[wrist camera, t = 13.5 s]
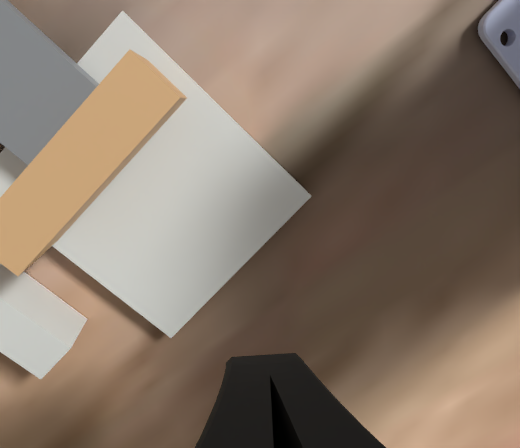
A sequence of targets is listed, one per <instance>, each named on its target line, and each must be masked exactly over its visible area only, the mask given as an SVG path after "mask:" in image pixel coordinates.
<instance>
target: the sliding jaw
mask: <svg viewBox="0 0 520 448" xmlns="http://www.w3.org/2000/svg"><path fill="white" fill-rule="evenodd" d="M186 99H187V97H186V96H185V95H184V94H183V93H182V92H181V91H180V90H179V89H178V88H176V87H175V86H174V85H173V84H172V83H171V82H170V81H169V80H168V79H167V78H166V77H165V76H164V75H163V74H162V73H161V72H160V71H159V70H158V69H157V68H156V67H155V66H154V65H153V64H152V63H151V62H149V61H148V60H147V59H145V58H144V57H142V56H140V55H139V54H137V53H135V52H134V51H132V50H130V49H129V51H128V52H127V53H126V54H125V55H124V56H123V57H122V59H121V60H120V61H119V62H118V63H117V64H116V65H115V67H114V68H113V69H112V70H111V71H110V72H109V73H108V75H107V76H106V77H105V78H104V79H103V80H102V81H101V83H100V84H99V83H97V82H96V81H95V80H94V79H93V78H92V77H91V76H90V75H89V74H88V73H87V72H85V71H84V70H83V69H82V68H81V67H80V66H79V65H78V64H77V63H76V62H74V61H73V60H72V59H71V58H70V57H69V56H68V55H67V54H66V53H65V52H64V51H62V50H61V49H60V48H59V47H58V46H57V45H56V44H55V43H54V42H53V41H51V40H50V39H49V38H48V37H47V36H46V35H45V34H44V33H43V32H42V31H41V30H39V29H38V28H37V27H36V26H35V25H34V24H33V23H32V22H31V21H30V20H28V19H27V18H26V17H25V16H24V15H23V14H22V13H21V12H20V11H19V10H18V9H16V8H15V7H14V6H13V5H12V4H11V3H10V2H9V1H8V0H0V143H1V144H2V145H3V146H5V147H6V148H7V149H8V150H10V151H11V152H12V153H13V154H14V155H16V156H17V157H18V158H19V159H21V160H22V161H23V162H24V163H25V164H27V165H28V166H27V167H26V169H25V170H24V171H23V172H22V173H21V174H20V175H19V177H18V178H17V179H16V180H15V181H14V182H13V184H12V185H11V186H10V187H9V188H8V189H7V190H6V192H5V193H4V194H3V195H2V196H1V197H0V264H2V265H3V266H5V267H6V268H7V269H9V270H10V271H11V272H13V273H14V274H15V275H17V276H19V275H20V274H21V273H23V272H24V271H25V270H26V269H27V268H28V267H29V266H30V265H31V264H33V263H34V262H35V261H36V260H37V259H38V258H39V257H40V256H41V255H42V254H44V253H45V252H46V251H47V250H48V249H49V248H50V247H51V246H52V245H53V244H55V243H56V242H57V241H58V240H59V239H60V238H61V236H62V235H63V234H64V233H65V232H66V231H67V230H68V229H69V228H70V227H71V225H72V224H73V223H74V222H75V221H76V220H77V219H78V218H79V217H80V216H81V214H82V213H83V212H84V211H85V210H86V209H87V208H88V207H89V206H90V205H91V203H92V202H93V201H94V200H95V199H96V198H97V197H98V196H99V195H100V194H101V192H102V191H103V190H104V189H105V188H106V187H107V186H108V185H109V184H110V183H111V181H112V180H113V179H114V178H115V177H116V176H117V175H118V174H119V173H120V172H121V170H122V169H123V168H124V167H125V166H126V165H127V164H128V163H129V162H130V161H131V159H132V158H133V157H134V156H135V155H136V154H137V153H138V152H139V151H140V150H141V148H142V147H143V146H144V145H145V144H146V143H147V142H148V141H149V140H150V139H151V137H152V136H153V135H154V134H155V133H156V132H157V131H158V130H159V129H160V128H161V126H162V125H163V124H164V123H165V122H166V121H167V120H168V119H169V118H170V117H171V115H172V114H173V113H174V112H175V111H176V110H177V109H178V108H179V107H180V106H181V104H182V103H183V102H184V101H185V100H186Z"/></svg>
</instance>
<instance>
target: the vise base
mask: <svg viewBox="0 0 520 448" xmlns="http://www.w3.org/2000/svg"><path fill="white" fill-rule="evenodd" d="M129 49H130V50H132V51H134V52H135V53H137V54H139V55H140V56H142V57H144V58H145V59H147V60H148V61H149V62H151V63H152V64H153V65H154V66H155V67H156V68H157V69H158V70H159V71H160V72H161V73H162V74H163V75H164V76H165V77H166V78H167V79H168V80H169V81H170V82H171V83H172V84H173V85H174V86H175V87H176V88H178V89H179V90H180V91H181V92H182V93H183V94H184V95H185V96H186V97H187V99H186V100H185V101H184V102H183V103H182V104H181V106H180V107H179V108H178V109H177V110H176V111H175V112H174V113H173V114H172V115H171V117H170V118H169V119H168V120H167V121H166V122H165V123H164V124H163V125H162V126H161V128H160V129H159V130H158V131H157V132H156V133H155V134H154V135H153V136H152V137H151V139H150V140H149V141H148V142H147V143H146V144H145V145H144V146H143V147H142V148H141V150H140V151H139V152H138V153H137V154H136V155H135V156H134V157H133V158H132V159H131V161H130V162H129V163H128V164H127V165H126V166H125V167H124V168H123V169H122V170H121V172H120V173H119V174H118V175H117V176H116V177H115V178H114V179H113V180H112V181H111V183H110V184H109V185H108V186H107V187H106V188H105V189H104V190H103V191H102V192H101V194H100V195H99V196H98V197H97V198H96V199H95V200H94V201H93V202H92V203H91V205H90V206H89V207H88V208H87V209H86V210H85V211H84V212H83V213H82V214H81V216H80V217H79V218H78V219H77V220H76V221H75V222H74V223H73V224H72V225H71V227H70V228H69V229H68V230H67V231H66V232H65V233H64V234H63V235H62V236H61V238H60V239H59V240H58V241H57V242H56V243H55V244H53V245H52V246H53V247H54V248H55V249H57V250H58V251H59V252H60V253H62V254H63V255H64V256H66V257H67V258H68V259H69V260H71V261H72V262H73V263H75V264H76V265H77V266H78V267H80V268H81V269H82V270H84V271H85V272H86V273H87V274H89V275H90V276H91V277H93V278H94V279H95V280H97V281H98V282H99V283H100V284H102V285H103V286H104V287H106V288H107V289H108V290H109V291H111V292H112V293H113V294H115V295H116V296H117V297H118V298H120V299H121V300H122V301H124V302H125V303H126V304H127V305H129V306H130V307H131V308H133V309H134V310H135V311H137V312H138V313H139V314H140V315H142V316H143V317H144V318H146V319H147V320H148V321H149V322H151V323H152V324H153V325H155V326H156V327H157V328H158V329H160V330H161V331H162V332H164V333H165V334H166V335H167V336H169V337H170V338H172V337H173V336H174V335H175V334H176V333H177V332H178V331H179V330H180V329H181V328H182V327H183V326H184V325H185V324H186V323H187V322H188V321H189V320H190V319H191V318H192V317H193V316H194V315H195V314H196V313H197V312H198V311H199V309H200V308H201V307H202V306H203V305H204V304H205V303H206V302H207V301H208V300H209V299H210V298H211V297H212V296H213V295H214V294H215V293H216V292H217V291H218V290H219V289H220V288H221V287H222V286H223V285H224V284H225V283H226V282H227V281H228V280H229V279H230V278H231V277H232V276H233V275H234V274H235V273H236V272H237V271H238V270H239V269H240V268H241V267H242V266H243V265H244V264H245V263H246V262H247V261H248V260H249V259H250V258H251V257H252V256H253V255H254V254H255V253H256V252H257V251H258V250H259V249H260V248H261V247H262V246H263V245H264V244H265V243H266V242H267V241H268V240H269V239H270V238H271V237H272V236H273V235H274V234H275V233H276V232H277V231H278V230H279V229H280V228H281V227H282V226H283V225H284V224H285V223H286V222H287V221H288V220H289V219H290V218H291V217H292V216H293V215H294V214H295V213H296V212H297V211H298V210H299V208H300V207H301V206H302V205H303V204H304V203H305V202H306V201H307V200H308V199H309V198H310V197H311V195H310V194H309V193H308V192H307V191H306V190H305V189H304V188H303V187H302V186H301V185H300V184H299V183H298V182H297V181H296V180H295V179H294V178H293V177H292V176H291V175H290V174H289V173H288V172H287V171H286V170H285V169H284V168H283V167H282V166H281V165H279V164H278V163H277V162H276V161H275V160H274V159H273V158H272V157H271V156H270V155H269V154H268V153H267V152H266V151H265V150H264V149H263V148H262V147H261V146H260V145H259V144H258V143H257V142H256V141H255V140H254V139H253V138H252V137H251V136H250V135H249V134H248V133H247V132H246V131H245V130H244V129H243V128H242V127H241V126H240V125H239V124H238V123H237V122H236V121H235V120H234V119H233V118H232V117H231V116H230V115H229V114H227V113H226V112H225V111H224V110H223V109H222V108H221V107H220V106H219V105H218V104H217V103H216V102H215V101H214V100H213V99H212V98H211V97H210V96H209V95H208V94H207V93H206V92H205V91H204V90H203V89H202V88H201V87H200V86H199V85H198V84H197V83H196V82H195V81H194V80H193V79H192V78H191V77H190V76H189V75H188V74H187V73H186V72H185V71H184V70H183V69H182V68H181V67H180V66H179V65H178V64H177V63H175V62H174V61H173V60H172V59H171V58H170V57H169V56H168V55H167V54H166V53H165V52H164V51H163V50H162V49H161V48H160V47H159V46H158V45H157V44H156V43H155V42H154V41H153V40H152V39H151V38H150V37H149V36H148V35H147V34H146V33H145V32H144V31H143V30H142V29H141V28H140V27H139V26H138V25H137V24H136V23H135V22H134V21H133V20H132V19H131V18H130V17H129V16H128V15H127V14H126V13H124V12H123V11H122V12H121V13H120V14H119V15H118V16H117V18H116V19H115V20H114V21H113V22H112V23H111V25H110V26H109V27H108V28H107V29H106V30H105V32H104V33H103V34H102V35H101V36H100V37H99V39H98V40H97V41H96V42H95V43H94V44H93V46H92V47H91V48H90V49H89V50H88V51H87V53H86V54H85V55H84V56H83V57H82V58H81V60H80V61H79V62H78V63H77V64H78V65H79V66H80V67H81V68H82V69H83V70H84V71H85V72H87V73H88V74H89V75H90V76H91V77H92V78H93V79H94V80H95V81H96V82H97V83H99V84H100V83H101V81H102V80H103V79H104V78H105V77H106V76H107V75H108V73H109V72H110V71H111V70H112V69H113V68H114V67H115V65H116V64H117V63H118V62H119V61H120V60H121V59H122V57H123V56H124V55H125V54H126V53H127V52H128V51H129ZM27 166H28V165H27V164H25V163H24V162H23V161H22V160H21V159H19V158H18V157H17V156H16V155H14V154H13V153H12V152H11V151H10V150H8V149H7V148H6V147H5V148H4V149H3V150H2V152H1V153H0V197H1V196H2V195H3V194H4V193H5V192H6V190H7V189H8V188H9V187H10V186H11V185H12V184H13V182H14V181H15V180H16V179H17V178H18V177H19V175H20V174H21V173H22V172H23V171H24V170H25V169H26V167H27ZM86 321H87V318H86V317H84V316H83V315H82V314H80V313H79V312H78V311H76V310H75V309H74V308H72V307H71V306H70V305H68V304H67V303H65V302H64V301H63V300H61V299H60V298H59V297H57V296H56V295H55V294H53V293H52V292H51V291H49V290H48V289H47V288H45V287H44V286H43V285H41V284H40V283H39V282H37V281H36V280H35V279H33V278H32V277H31V276H29V275H28V274H26V273H25V272H23V273H21V274H20V275H19V276H17V275H15V274H14V273H13V272H11V271H10V270H9V269H7V268H6V267H5V266H3V265H2V264H0V352H1V353H2V354H4V355H5V356H7V357H8V358H10V359H11V360H13V361H14V362H16V363H17V364H19V365H20V366H22V367H23V368H25V369H26V370H28V371H29V372H30V373H32V374H33V375H35V376H36V377H38V378H39V379H42V378H43V377H44V376H45V375H46V374H47V373H48V372H49V371H50V370H51V368H52V367H53V366H54V365H55V364H56V363H57V362H58V361H59V360H60V359H61V358H62V357H63V356H64V355H65V354H66V353H67V352H68V351H69V350H70V349H71V347H72V345H73V344H74V342H75V340H76V338H77V337H78V335H79V333H80V331H81V330H82V328H83V326H84V324H85V323H86Z"/></svg>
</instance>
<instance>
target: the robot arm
mask: <svg viewBox="0 0 520 448" xmlns="http://www.w3.org/2000/svg"><path fill="white" fill-rule="evenodd" d="M503 31H505V32H506V33H507V35H508V42H507V43H506V45H505V46H504V45H502V44H501V41H500V36H501V34H502V32H503ZM478 34H479V36H480V38H481V40H482V41H483V42H484V44H485V45H486V46H487V48H488V49H489V50H490V51H491V53H492V54H493V55H494V57H495V58H496V59H497V60H498V62H499V63H500V64H501V66H502V67H503V68H504V69H505V71H506V72H507V73H508V75H509V76H510V77H511V78H512V80H513V81H514V82H515V84H516V85H517V86H518V87H519V89H520V0H498V1H497V2H496V3H495V4H494V5H493V6H492V7H491V9H490V10H489V11H488V12H487V13H486V14H485V15H484V16H483V17H482V18H481V20H480V22H479V25H478ZM195 448H386V447H385V446H384V445H383V444H381V443H380V442H379V441H378V440H377V439H376V438H375V437H374V436H373V435H372V434H371V433H370V432H369V431H368V430H367V429H366V428H364V427H363V426H362V425H361V424H360V423H359V422H358V420H357V419H356V418H355V417H354V416H353V415H352V414H351V413H350V412H349V411H348V410H347V409H346V408H345V407H344V406H343V405H342V404H341V403H340V402H339V401H338V400H337V399H336V398H335V397H334V396H333V395H332V394H331V392H330V391H329V390H328V389H327V388H326V387H325V386H324V385H323V384H322V382H321V381H320V380H319V379H318V378H317V377H316V376H315V374H314V373H313V372H312V371H311V370H310V369H309V367H308V366H307V365H306V364H305V363H304V361H303V360H302V359H301V358H300V357H299V356H298V355H297V354H296V353H290V354H274V355H258V356H242V357H232V358H231V359H230V360H229V361H228V362H226V369H225V374H224V378H223V382H222V385H221V388H220V391H219V394H218V397H217V400H216V402H215V405H214V407H213V409H212V412H211V414H210V416H209V419H208V421H207V423H206V426H205V428H204V430H203V432H202V435H201V437H200V439H199V441H198V443H197V444H196V446H195Z"/></svg>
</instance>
